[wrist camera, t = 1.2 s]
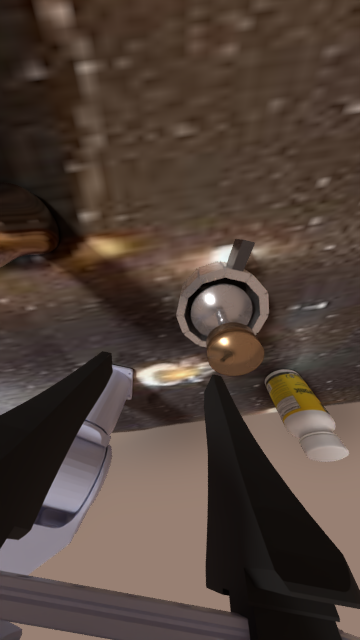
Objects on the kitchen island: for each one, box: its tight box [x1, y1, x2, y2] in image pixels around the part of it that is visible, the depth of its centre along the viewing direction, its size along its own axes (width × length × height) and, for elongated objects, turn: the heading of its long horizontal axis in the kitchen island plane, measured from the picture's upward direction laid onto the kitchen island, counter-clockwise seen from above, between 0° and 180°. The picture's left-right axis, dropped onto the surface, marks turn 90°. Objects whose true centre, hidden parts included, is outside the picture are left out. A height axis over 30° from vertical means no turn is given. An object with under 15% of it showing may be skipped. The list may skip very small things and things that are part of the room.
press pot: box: [176, 239, 269, 347], centre depth 16 cm, size 11×9×4 cm
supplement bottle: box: [265, 369, 349, 462], centre depth 20 cm, size 5×5×10 cm
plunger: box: [191, 283, 264, 376], centre depth 12 cm, size 6×6×7 cm
